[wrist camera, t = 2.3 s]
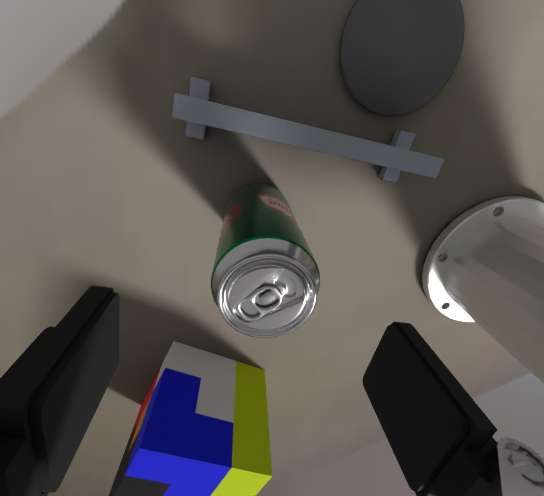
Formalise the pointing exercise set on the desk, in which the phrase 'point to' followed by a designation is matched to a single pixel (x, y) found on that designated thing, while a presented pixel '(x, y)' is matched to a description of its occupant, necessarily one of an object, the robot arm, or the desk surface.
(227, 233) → the soda can
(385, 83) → the coaster
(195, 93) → the divider
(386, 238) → the desk surface
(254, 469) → the puzzle toy
